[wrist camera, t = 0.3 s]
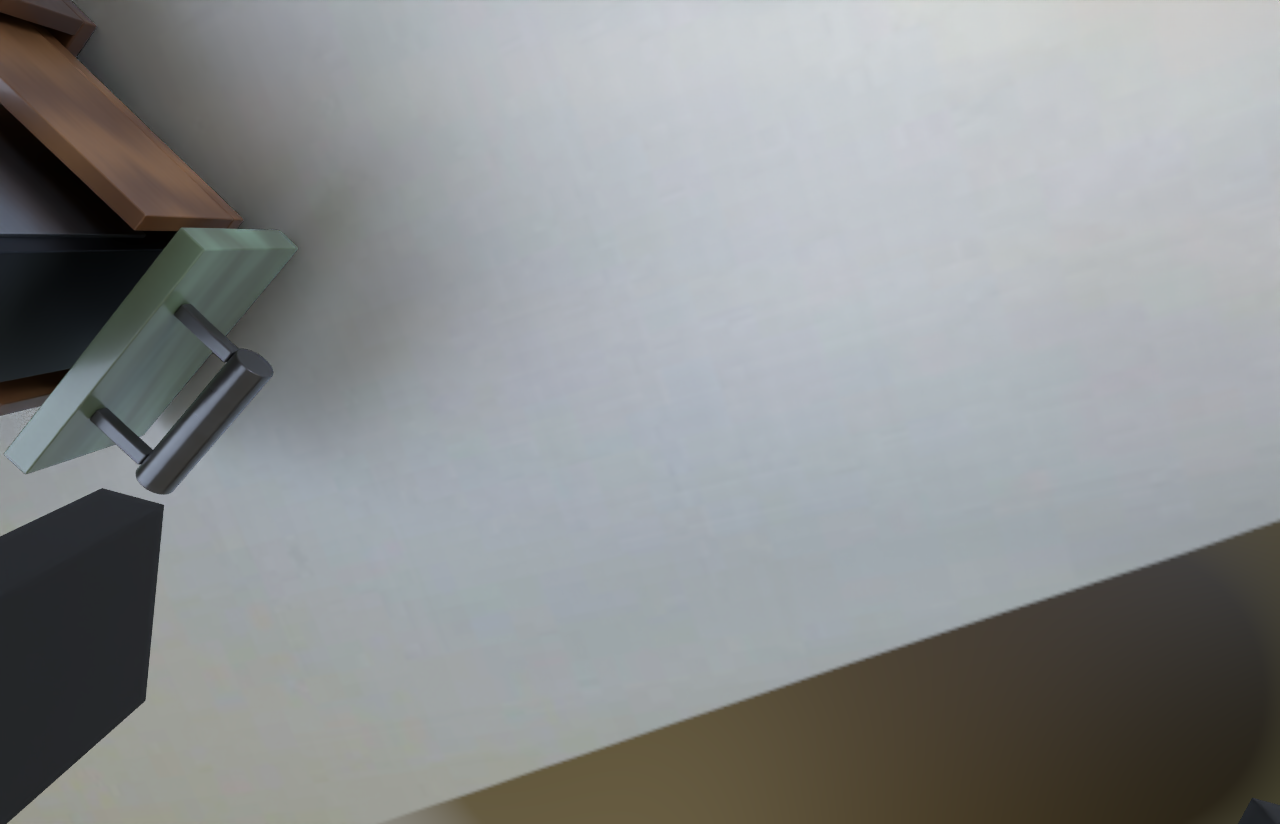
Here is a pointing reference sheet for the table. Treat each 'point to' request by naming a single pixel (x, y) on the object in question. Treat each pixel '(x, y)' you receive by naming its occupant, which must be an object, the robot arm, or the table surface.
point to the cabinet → (54, 20)
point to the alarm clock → (58, 257)
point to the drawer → (161, 300)
